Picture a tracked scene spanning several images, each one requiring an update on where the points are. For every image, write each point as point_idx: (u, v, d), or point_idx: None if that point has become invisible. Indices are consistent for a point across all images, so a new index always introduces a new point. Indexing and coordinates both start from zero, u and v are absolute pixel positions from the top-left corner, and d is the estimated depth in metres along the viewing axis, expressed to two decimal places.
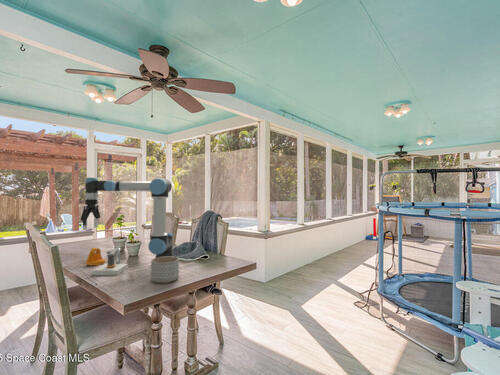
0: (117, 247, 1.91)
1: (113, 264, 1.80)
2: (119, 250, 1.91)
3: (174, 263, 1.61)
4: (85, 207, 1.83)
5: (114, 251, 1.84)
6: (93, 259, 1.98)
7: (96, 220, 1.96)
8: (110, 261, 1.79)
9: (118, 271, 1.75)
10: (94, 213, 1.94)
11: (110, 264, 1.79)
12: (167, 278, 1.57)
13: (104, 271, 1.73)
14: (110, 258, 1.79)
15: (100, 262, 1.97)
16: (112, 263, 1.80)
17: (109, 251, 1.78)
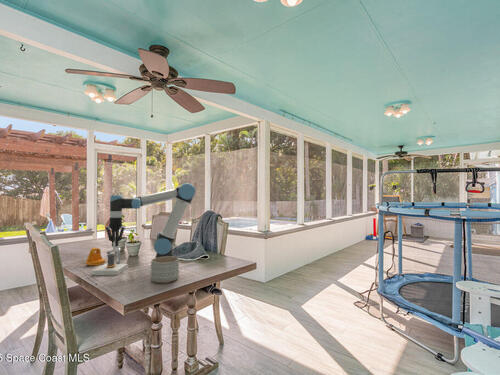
0: (117, 247, 1.91)
1: (113, 264, 1.80)
2: (119, 250, 1.91)
3: (174, 263, 1.61)
4: None
5: None
6: (93, 259, 1.98)
7: None
8: (110, 261, 1.79)
9: (118, 271, 1.75)
10: None
11: (110, 264, 1.79)
12: (167, 278, 1.57)
13: (104, 271, 1.73)
14: (110, 258, 1.79)
15: (100, 262, 1.97)
16: (112, 263, 1.80)
17: (109, 251, 1.78)
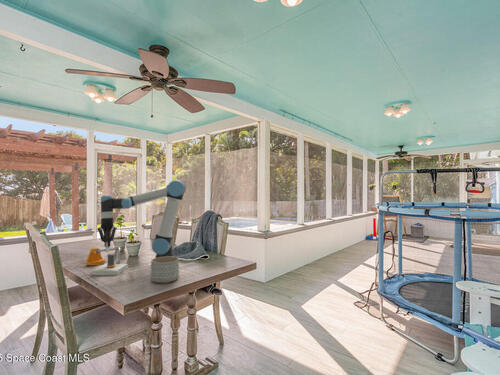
0: (118, 247, 1.92)
1: (113, 264, 1.80)
2: (118, 250, 1.90)
3: (174, 263, 1.61)
4: None
5: None
6: (93, 259, 1.98)
7: None
8: (110, 261, 1.79)
9: (118, 271, 1.75)
10: None
11: (110, 264, 1.79)
12: (167, 278, 1.57)
13: (104, 271, 1.73)
14: (110, 258, 1.79)
15: (100, 262, 1.97)
16: (112, 263, 1.80)
17: (98, 250, 1.82)
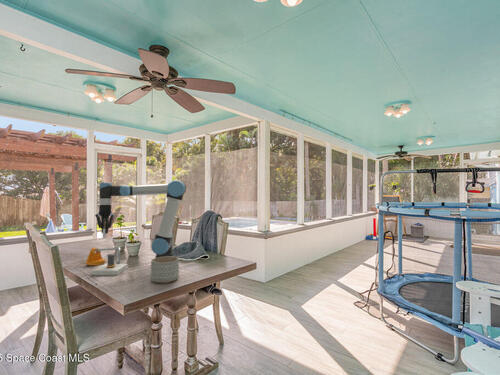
0: (118, 247, 1.92)
1: (113, 264, 1.80)
2: (117, 250, 1.90)
3: (174, 263, 1.61)
4: None
5: None
6: (93, 259, 1.98)
7: None
8: (110, 261, 1.79)
9: (118, 271, 1.75)
10: None
11: (110, 264, 1.79)
12: (167, 278, 1.57)
13: (104, 271, 1.73)
14: (110, 258, 1.79)
15: (100, 262, 1.97)
16: (112, 263, 1.80)
17: (98, 249, 1.85)
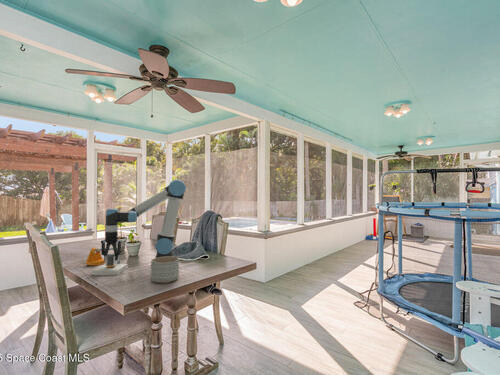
0: None
1: None
2: (117, 250, 1.90)
3: (174, 263, 1.61)
4: None
5: None
6: (93, 259, 1.98)
7: None
8: (110, 261, 1.79)
9: (118, 271, 1.75)
10: None
11: (110, 264, 1.79)
12: (167, 278, 1.57)
13: (104, 271, 1.73)
14: (110, 258, 1.79)
15: (100, 262, 1.97)
16: (112, 263, 1.80)
17: (98, 249, 1.85)
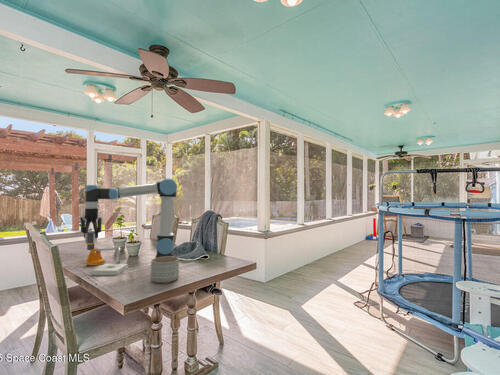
0: (118, 247, 1.92)
1: None
2: (117, 250, 1.90)
3: (174, 263, 1.61)
4: None
5: None
6: (93, 259, 1.98)
7: None
8: (90, 238, 1.74)
9: (118, 271, 1.75)
10: None
11: (90, 241, 1.74)
12: (167, 278, 1.57)
13: (104, 271, 1.73)
14: (90, 235, 1.74)
15: (100, 262, 1.97)
16: (92, 241, 1.75)
17: (98, 249, 1.85)
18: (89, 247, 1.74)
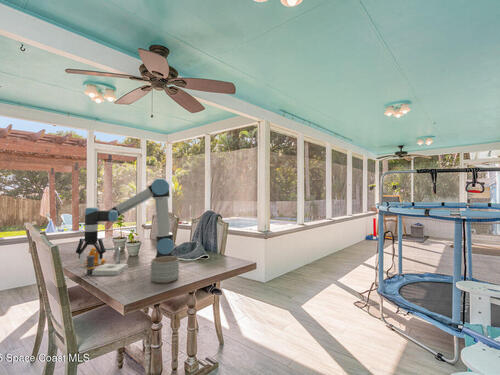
0: (118, 247, 1.92)
1: (93, 266, 1.75)
2: (117, 250, 1.90)
3: (174, 263, 1.61)
4: None
5: None
6: None
7: None
8: (89, 263, 1.74)
9: (118, 271, 1.75)
10: None
11: (89, 266, 1.74)
12: (167, 278, 1.57)
13: (104, 271, 1.73)
14: (89, 260, 1.74)
15: None
16: (92, 265, 1.74)
17: None
18: (89, 272, 1.73)
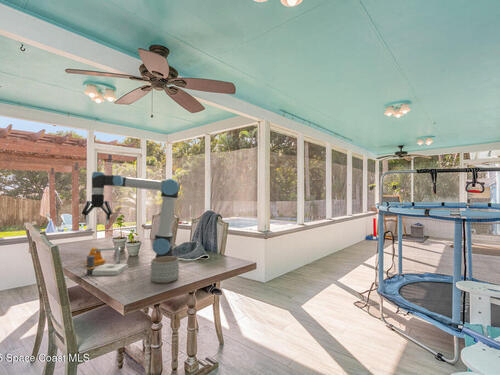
0: (118, 247, 1.92)
1: (93, 266, 1.75)
2: (117, 250, 1.90)
3: (174, 263, 1.61)
4: None
5: None
6: None
7: None
8: (89, 263, 1.74)
9: (118, 271, 1.75)
10: None
11: (89, 266, 1.74)
12: (167, 278, 1.57)
13: (104, 271, 1.73)
14: (89, 260, 1.74)
15: (100, 262, 1.97)
16: (92, 265, 1.74)
17: (98, 249, 1.85)
18: (89, 272, 1.73)
